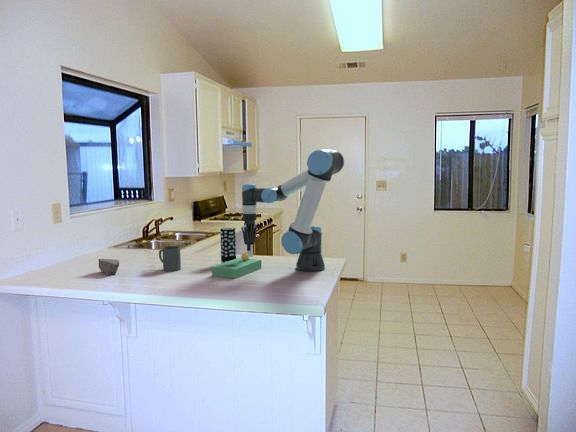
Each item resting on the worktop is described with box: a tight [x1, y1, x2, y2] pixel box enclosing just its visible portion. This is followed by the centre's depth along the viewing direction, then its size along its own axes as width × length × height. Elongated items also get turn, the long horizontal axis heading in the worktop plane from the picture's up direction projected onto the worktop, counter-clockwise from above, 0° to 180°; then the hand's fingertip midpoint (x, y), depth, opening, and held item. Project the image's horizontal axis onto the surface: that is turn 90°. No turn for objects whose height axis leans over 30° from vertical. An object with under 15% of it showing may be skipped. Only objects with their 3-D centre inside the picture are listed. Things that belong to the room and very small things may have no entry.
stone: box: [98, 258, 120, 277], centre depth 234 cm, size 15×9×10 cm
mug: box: [158, 245, 182, 272], centre depth 244 cm, size 14×9×12 cm
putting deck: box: [211, 257, 262, 279], centre depth 237 cm, size 14×25×5 cm, turn 153°
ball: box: [240, 252, 250, 261], centre depth 243 cm, size 4×4×4 cm
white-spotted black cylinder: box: [219, 227, 237, 264], centre depth 255 cm, size 8×8×20 cm
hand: (250, 256), depth 248 cm, fingers closed
